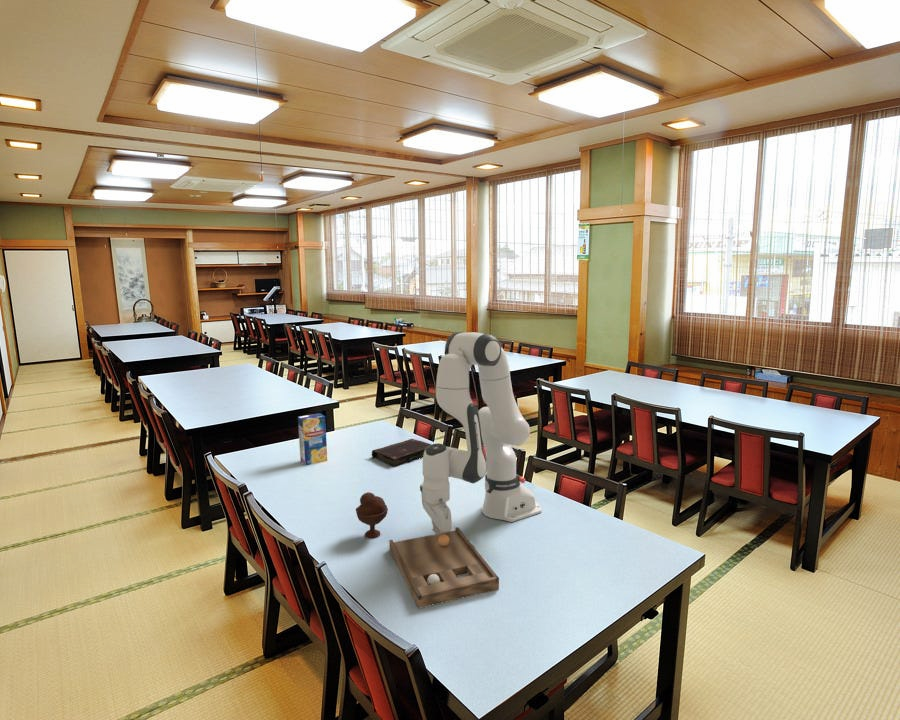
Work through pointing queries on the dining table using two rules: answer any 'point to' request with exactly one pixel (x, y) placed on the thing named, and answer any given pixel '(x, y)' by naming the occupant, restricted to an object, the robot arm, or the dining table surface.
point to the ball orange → (443, 540)
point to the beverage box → (312, 439)
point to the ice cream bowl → (371, 513)
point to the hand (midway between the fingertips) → (436, 532)
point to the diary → (401, 452)
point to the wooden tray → (442, 568)
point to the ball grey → (433, 579)
